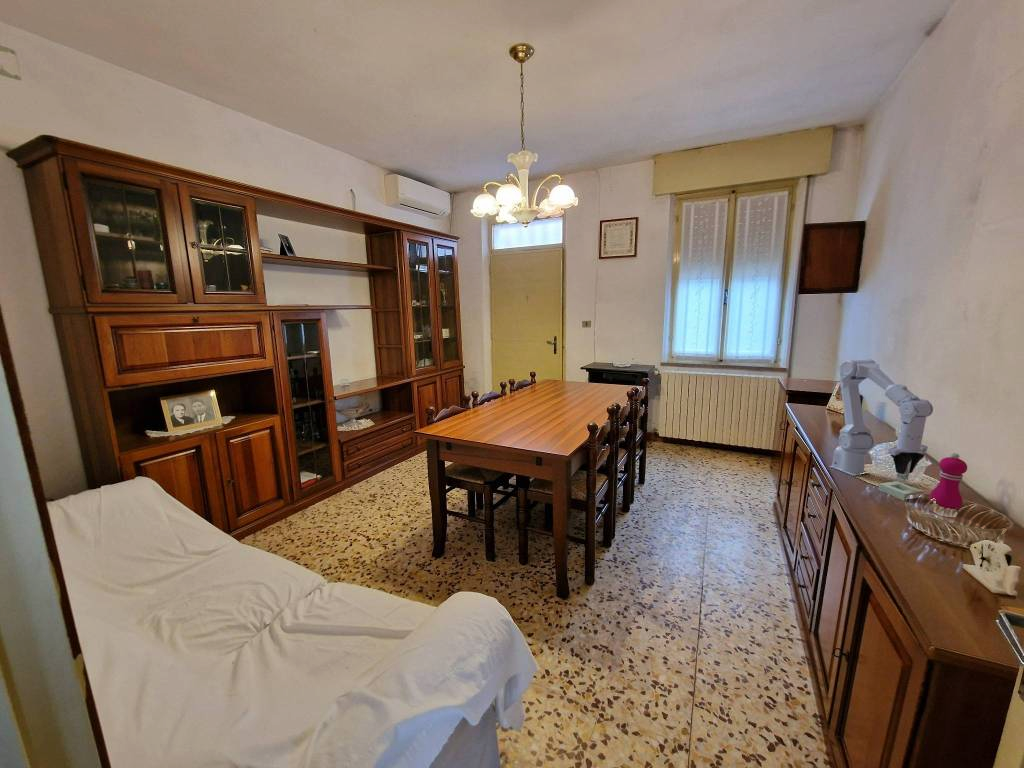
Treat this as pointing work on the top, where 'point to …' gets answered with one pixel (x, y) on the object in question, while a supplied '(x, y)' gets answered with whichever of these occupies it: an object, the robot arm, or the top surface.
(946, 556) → the top surface
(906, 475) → the peg
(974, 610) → the top surface
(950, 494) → the pepper mill
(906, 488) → the socket block
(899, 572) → the top surface
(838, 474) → the top surface
